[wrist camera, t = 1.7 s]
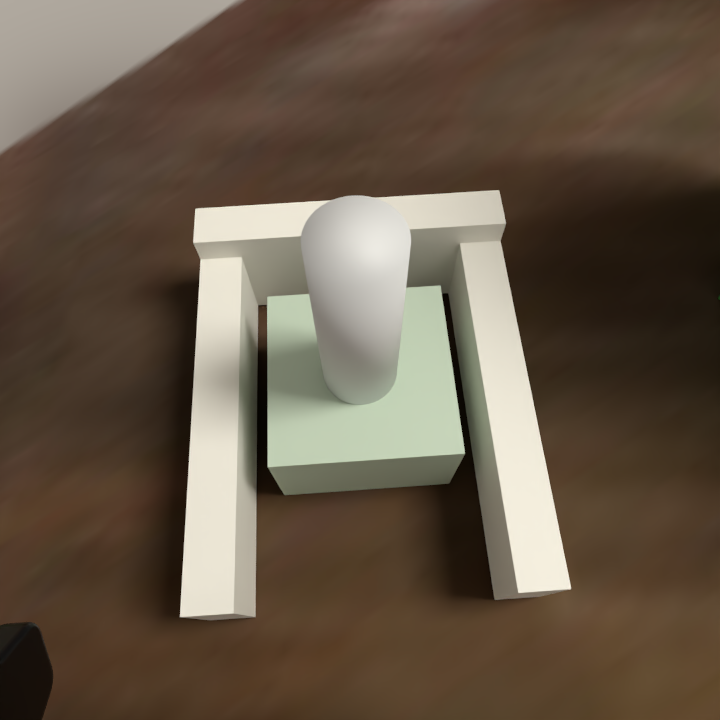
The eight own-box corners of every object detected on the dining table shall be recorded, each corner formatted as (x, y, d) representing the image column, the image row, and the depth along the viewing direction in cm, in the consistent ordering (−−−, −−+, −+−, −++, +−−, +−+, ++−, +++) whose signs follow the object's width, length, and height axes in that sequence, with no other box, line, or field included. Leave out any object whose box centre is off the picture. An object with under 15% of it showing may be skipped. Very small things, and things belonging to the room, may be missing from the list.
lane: (538, 596, 20) (582, 586, 16) (210, 620, 20) (168, 616, 16) (478, 261, 26) (499, 190, 21) (223, 277, 25) (195, 208, 21)
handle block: (449, 484, 22) (517, 354, 12) (284, 495, 22) (211, 374, 12) (429, 337, 24) (472, 128, 14) (282, 347, 24) (221, 143, 14)
